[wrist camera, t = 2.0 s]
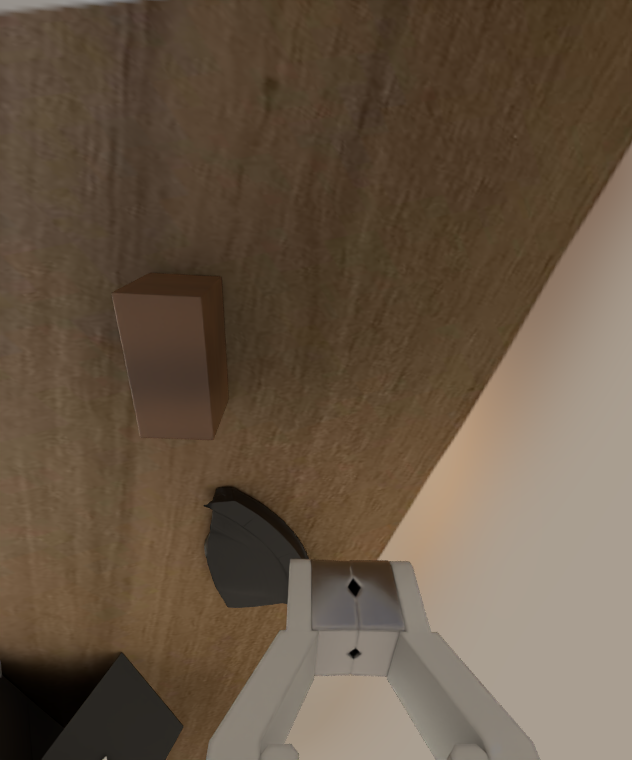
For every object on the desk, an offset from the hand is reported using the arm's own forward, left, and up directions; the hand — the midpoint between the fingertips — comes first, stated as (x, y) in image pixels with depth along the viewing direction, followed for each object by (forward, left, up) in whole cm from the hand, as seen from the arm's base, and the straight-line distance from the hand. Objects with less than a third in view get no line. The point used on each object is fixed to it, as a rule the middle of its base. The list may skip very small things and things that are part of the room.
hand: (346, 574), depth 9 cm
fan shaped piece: (+19, -4, -15) cm, 25 cm away
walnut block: (0, -8, -15) cm, 17 cm away
